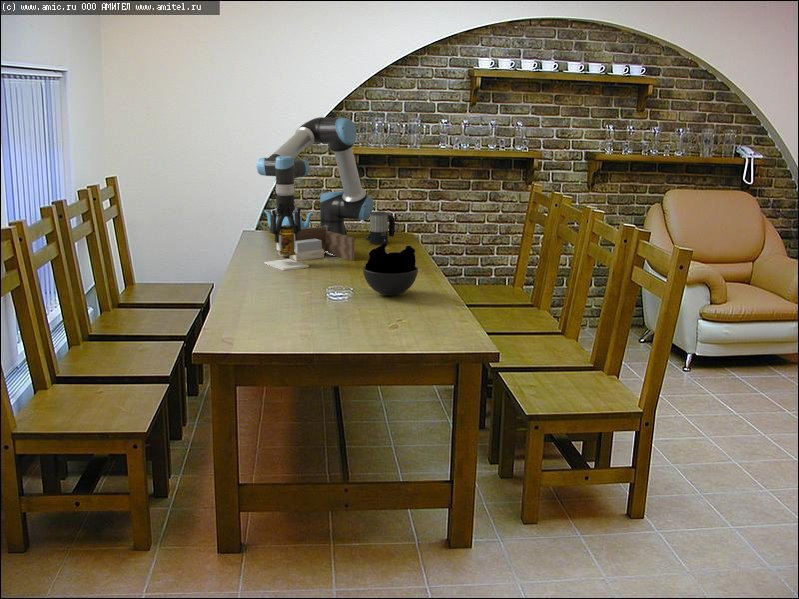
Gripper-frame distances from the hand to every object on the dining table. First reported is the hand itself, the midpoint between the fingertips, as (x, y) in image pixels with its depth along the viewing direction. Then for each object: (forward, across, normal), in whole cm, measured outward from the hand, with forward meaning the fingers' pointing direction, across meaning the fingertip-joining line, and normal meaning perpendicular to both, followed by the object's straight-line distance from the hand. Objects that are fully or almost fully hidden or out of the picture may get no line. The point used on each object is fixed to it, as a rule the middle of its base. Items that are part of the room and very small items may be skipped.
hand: (286, 249), depth 361 cm
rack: (+7, +19, +4) cm, 20 cm away
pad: (+7, 0, 0) cm, 7 cm away
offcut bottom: (+7, +16, +9) cm, 20 cm away
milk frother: (+7, +65, +25) cm, 70 cm away
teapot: (+7, +35, +56) cm, 66 cm away
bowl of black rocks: (+7, +5, -66) cm, 67 cm away
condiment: (+2, 0, 0) cm, 2 cm away
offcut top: (+3, +16, +9) cm, 19 cm away
